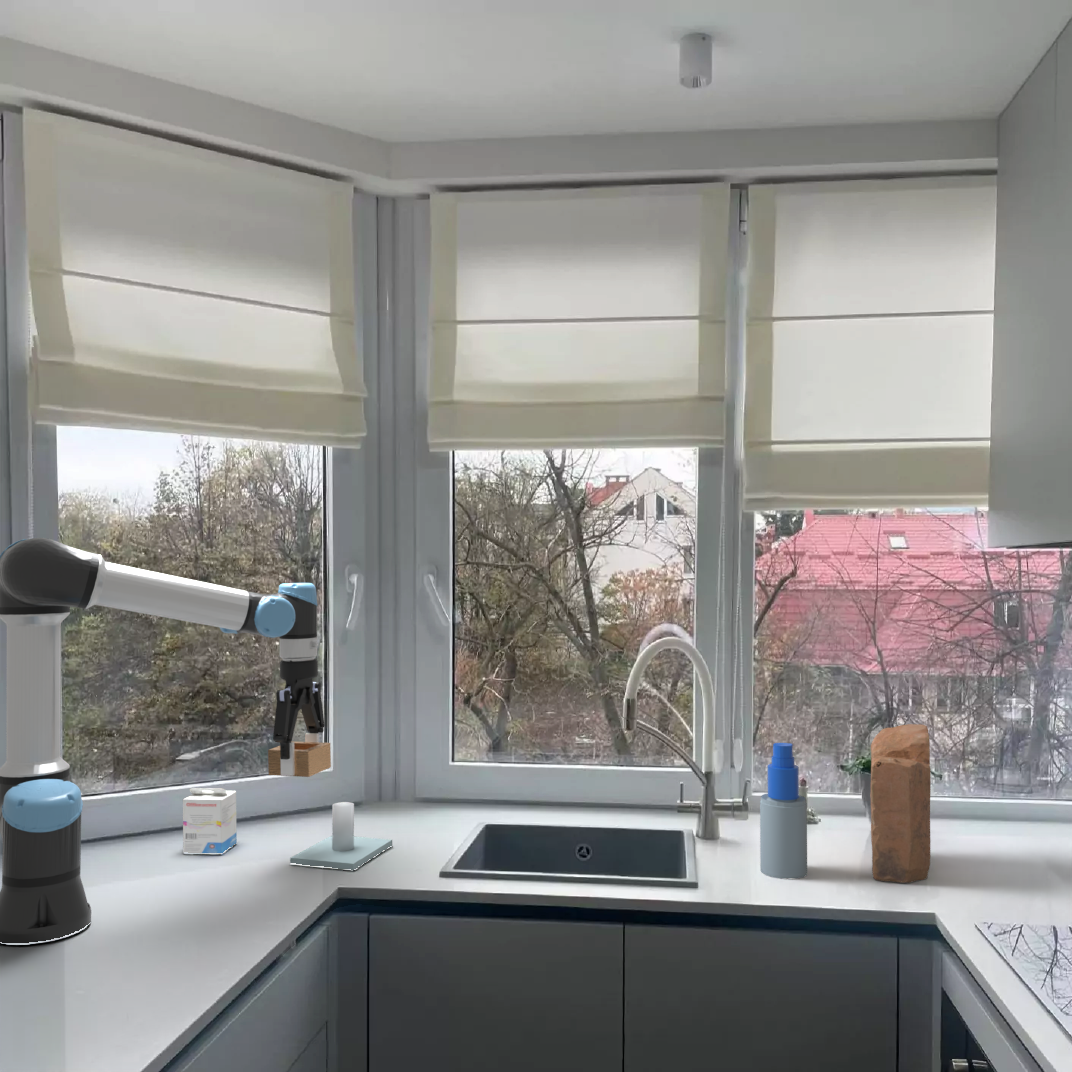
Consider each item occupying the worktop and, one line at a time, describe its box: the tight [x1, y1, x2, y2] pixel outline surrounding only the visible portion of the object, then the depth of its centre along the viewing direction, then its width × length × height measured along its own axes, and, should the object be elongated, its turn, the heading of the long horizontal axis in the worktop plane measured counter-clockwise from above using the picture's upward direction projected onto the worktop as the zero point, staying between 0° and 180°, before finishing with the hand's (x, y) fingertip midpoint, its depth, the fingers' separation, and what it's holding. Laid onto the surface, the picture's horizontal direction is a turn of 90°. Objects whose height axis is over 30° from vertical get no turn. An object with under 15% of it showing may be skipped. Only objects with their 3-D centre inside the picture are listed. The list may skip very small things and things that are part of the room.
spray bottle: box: [759, 742, 808, 879], centre depth 195 cm, size 9×9×25 cm
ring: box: [267, 740, 332, 778], centre depth 201 cm, size 9×9×5 cm
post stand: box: [289, 801, 393, 870], centre depth 206 cm, size 18×14×10 cm
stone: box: [869, 723, 932, 884], centre depth 197 cm, size 22×11×28 cm, turn 162°
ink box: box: [182, 787, 238, 853], centre depth 210 cm, size 9×8×13 cm
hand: (300, 769), depth 201 cm, fingers closed on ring, 9 cm apart
